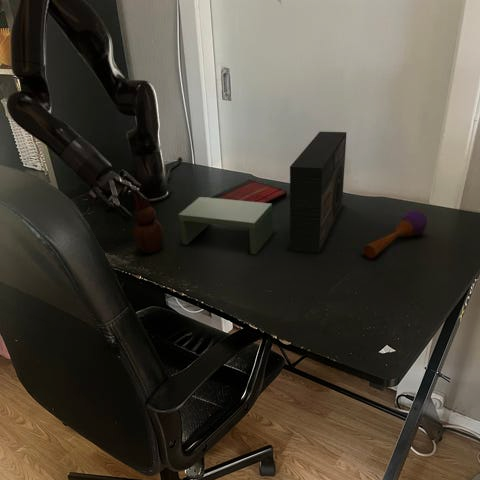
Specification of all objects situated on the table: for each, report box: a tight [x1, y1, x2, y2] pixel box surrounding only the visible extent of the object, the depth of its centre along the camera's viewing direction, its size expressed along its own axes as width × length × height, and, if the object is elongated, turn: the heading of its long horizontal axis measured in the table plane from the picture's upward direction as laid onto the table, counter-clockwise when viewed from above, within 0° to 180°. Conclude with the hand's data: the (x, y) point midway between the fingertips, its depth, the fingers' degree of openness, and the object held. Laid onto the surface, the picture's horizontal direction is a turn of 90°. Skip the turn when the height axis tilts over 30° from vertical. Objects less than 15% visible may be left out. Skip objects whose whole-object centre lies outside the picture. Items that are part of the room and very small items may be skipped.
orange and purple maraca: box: [362, 209, 428, 260], centre depth 113 cm, size 6×6×20 cm
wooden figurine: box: [133, 194, 164, 254], centre depth 116 cm, size 7×6×15 cm
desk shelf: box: [177, 196, 274, 255], centre depth 121 cm, size 12×20×8 cm, turn 67°
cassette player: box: [289, 131, 347, 254], centre depth 120 cm, size 29×7×20 cm, turn 160°
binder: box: [208, 179, 287, 205], centre depth 143 cm, size 16×2×21 cm
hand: (139, 212), depth 115 cm, fingers open, 8 cm apart
